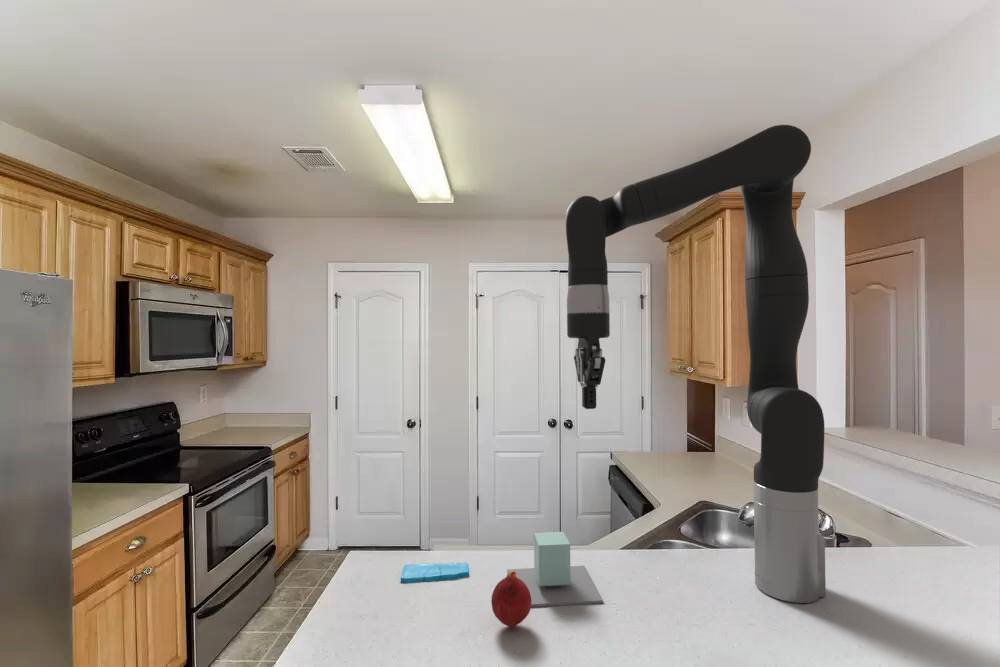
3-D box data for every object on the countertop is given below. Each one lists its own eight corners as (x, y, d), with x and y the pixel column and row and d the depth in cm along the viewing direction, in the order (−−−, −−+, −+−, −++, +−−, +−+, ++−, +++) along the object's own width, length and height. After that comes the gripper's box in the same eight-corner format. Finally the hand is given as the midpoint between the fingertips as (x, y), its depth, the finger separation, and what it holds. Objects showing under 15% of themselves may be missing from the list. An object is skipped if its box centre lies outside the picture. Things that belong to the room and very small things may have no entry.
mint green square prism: (564, 569, 87) (563, 531, 87) (570, 584, 82) (570, 544, 82) (534, 571, 87) (533, 532, 87) (539, 586, 82) (538, 545, 82)
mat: (584, 567, 91) (584, 565, 91) (603, 602, 79) (603, 600, 79) (507, 571, 90) (507, 569, 90) (514, 607, 78) (514, 605, 78)
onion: (528, 641, 69) (527, 583, 70) (487, 636, 71) (487, 579, 71) (534, 617, 75) (533, 564, 75) (496, 613, 76) (495, 561, 76)
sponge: (468, 578, 86) (469, 559, 92) (398, 579, 86) (404, 560, 92) (468, 586, 87) (470, 567, 92) (398, 588, 86) (404, 568, 92)
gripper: (620, 309, 84) (621, 413, 84) (598, 313, 97) (599, 402, 97) (576, 309, 83) (577, 414, 83) (560, 313, 97) (561, 403, 97)
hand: (589, 408), depth 90 cm, fingers closed
